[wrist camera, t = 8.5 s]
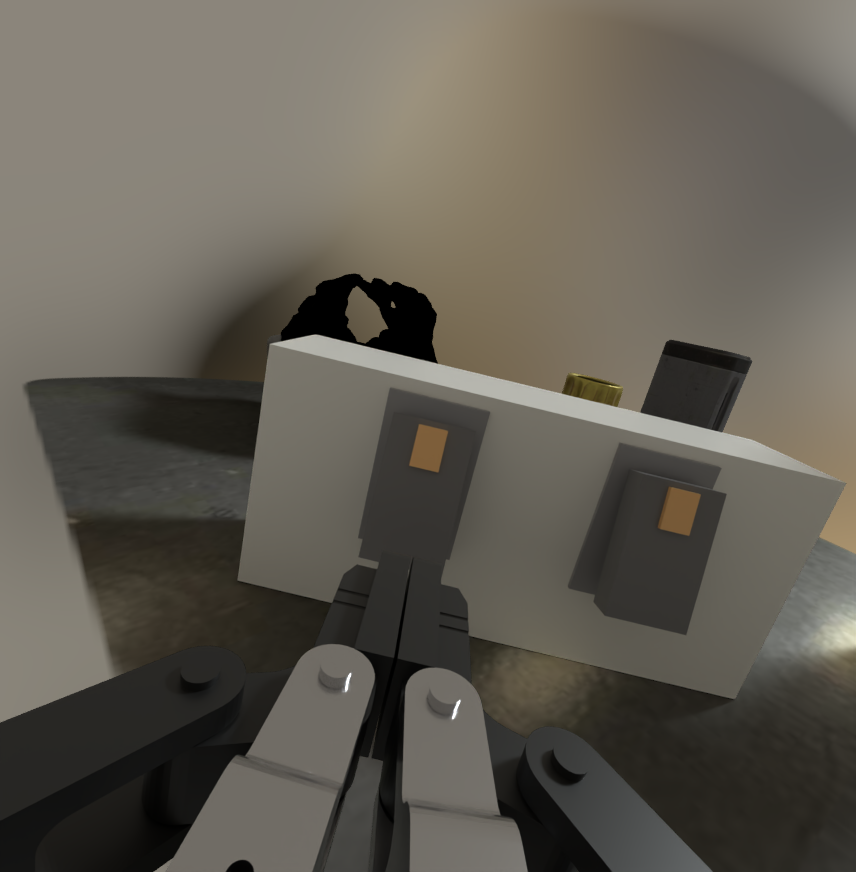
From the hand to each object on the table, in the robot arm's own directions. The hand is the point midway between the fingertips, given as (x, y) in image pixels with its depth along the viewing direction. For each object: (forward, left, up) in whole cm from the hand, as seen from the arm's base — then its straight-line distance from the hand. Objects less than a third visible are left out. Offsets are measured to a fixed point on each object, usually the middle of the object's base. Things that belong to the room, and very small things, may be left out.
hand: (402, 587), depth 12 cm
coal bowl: (+31, -33, -11) cm, 47 cm away
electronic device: (-1, -60, -11) cm, 61 cm away
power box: (+4, -18, -11) cm, 22 cm away
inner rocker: (-5, -15, -6) cm, 17 cm away
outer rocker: (+5, -9, -5) cm, 11 cm away
